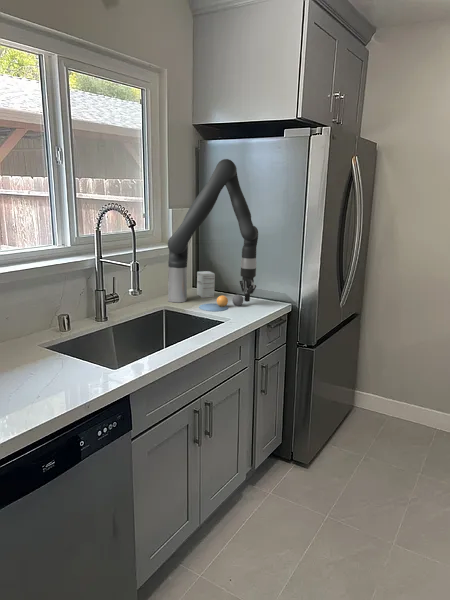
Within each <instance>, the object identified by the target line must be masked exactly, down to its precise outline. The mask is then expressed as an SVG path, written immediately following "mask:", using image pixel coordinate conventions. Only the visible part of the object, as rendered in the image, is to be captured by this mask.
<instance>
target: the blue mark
mask: <svg viewBox="0 0 450 600" xmlns="http://www.w3.org/2000/svg"><path fill="white" fill-rule="evenodd" d="M198 309H199V310H201V309H202V310H201V311H205V310H206V312H224V311H226V310H229V306H227V305H226V306H224V307H220V306H219V305H218V304H217V303H203V304H201V305H199V306H198Z"/></svg>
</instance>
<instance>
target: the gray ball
mask: <svg viewBox="0 0 450 600" xmlns="http://www.w3.org/2000/svg"><path fill="white" fill-rule="evenodd" d="M231 299H232V300H231V301H232V304H233V305H234V306H237V307H239V306H242V305H243V304H244V297H243V296H242V295H241V294H234V295H233V297H232V298H231Z"/></svg>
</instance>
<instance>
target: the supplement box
mask: <svg viewBox="0 0 450 600" xmlns="http://www.w3.org/2000/svg"><path fill="white" fill-rule="evenodd" d="M196 277H197V278H196V295H197V296H199V297H200V298H202V299H204V298H205V299H206V298H214V297H215V288H216V287H215V284H216V282H215V281H216V280H215V279H216V278H215V277H216V275H215V273H214V272H213V271H209V270H207V271H206V270H205V271H204V270H202V271H197V272H196Z"/></svg>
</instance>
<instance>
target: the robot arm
mask: <svg viewBox="0 0 450 600" xmlns="http://www.w3.org/2000/svg"><path fill="white" fill-rule="evenodd" d="M237 169H238V168H237V165H236V164H235V162H233V160H231V159H229V158H224V159H221V160H220V161H219V162H218V163H216V167H215V168H214V171H213V172H212V174H211V176H210V177H209V179H208V181H207V183H206V184H205V185H204V186H203V188H202V189H201V191H199V193H198V195H197V196H196V197H195V199H194V201H193V202H192V203H191V205H190V207H189V209H188V210H187V212H186V214H185V216H184V218H183V220H182V222H181V224H180V225H179V227H178V228H177V229H176V230H175V232H174V233H173V234H172V236H170V237H169V239H168V242H167V249H168V262H167V263H168V266H167V268H168V271H167V272H168V280H167V281H168V282H167V283H168V285H167V286H168V287H167V288H168V290H167V294H168V296H167V298H168V301H167V302H169V303H170V302H172V303H184V302H187V300H188V297H187V296H188V295H187V294H188V258H189V257H188V255H189V254H188V253H189V251H188V250H189V242H190V241H191V238H192V236H193V235H194V233H195V232H197V230H198V228H199V227H200V226H201V225H202V224H204V221H205V220H206V218H208V216H209V215H210V213H211V212H212V210H213V209H214V207H215V205H216V203H217V200H218V198H219V195H220V193H221V191H222V190H223V189H224V187H226V190H227V193H228V195H229V199H230V203H231V205H232V209H233V211H234V215H235V218H236V220H237V223H238V228H239V233H240V235H241V237H242V238H243V245H242V249H241V260H240V277H242V278H241V280H239V286H240V288H241V292H242V293H243V294H244V297H243V302H246V303H247V302H248V303H249V302H251V301H250V300H251V295H252V294H254V291H255V290H256V288H257V285H256V284H255V283H254V278H255V277H256V275H257V245H258V239H259V230H258V227H256V226H255V225H254V223H253V220H252V214H251V210H250V209H249V205H248V202H247V201H246V198H245V195H244V194H243V191H242V188H241V186H240V182H239V177H238V170H237Z"/></svg>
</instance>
